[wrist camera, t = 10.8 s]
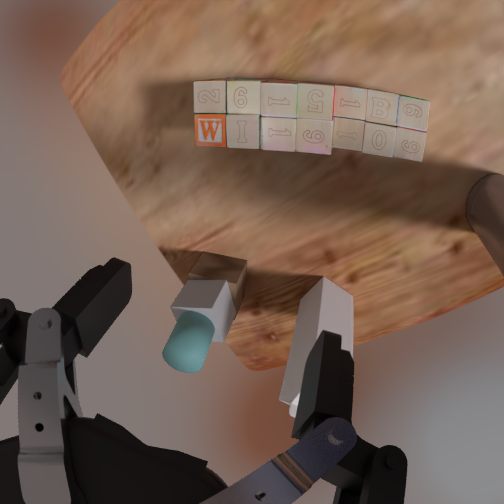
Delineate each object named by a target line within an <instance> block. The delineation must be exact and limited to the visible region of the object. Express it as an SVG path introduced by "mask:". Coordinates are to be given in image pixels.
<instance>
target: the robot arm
mask: <svg viewBox="0 0 504 504" xmlns="http://www.w3.org/2000/svg"><path fill="white" fill-rule="evenodd" d="M466 212H467V218H468V221H469V223H470V225H471V227H472V228H473V230H474V231H475V232H476V234H477V235H478V237H479V238H480V240H481V241H482V243H483V244H484V246H485V247H486V249H487V250H488V252H489V253H490V255H491V257H492V258H493V260H494V261H495V263H496V264H497V266H498V268H499V269H500V271H501V273H502V274H503V276H504V176H503V175H500V174H493V175H488V176H486V177H484V178H482V179H481V180H480V181H479V182H477V184H476V185H475V186H474V187H473V189H472V191H471V192H470V195H469V197H468V200H467V206H466ZM131 295H132V278H131V265H130V263H127V262H125V261H122V260H120V259H117V258H115V257H114V258H112V259H110V260H109V261H108V262H107V263H106V264H105V265H104V266H101V265H98V266H96V267H94V268H92V269H90V270H89V271H88V272H87V273H86V274H84V276H82V277H81V279H79V281H77V283H76V284H75V286H73V287H72V288H71V289H70V290H69V291H68V292H67V293H66V294H65V295H64V296H63V297H62V298H61V299H60V300H59V301H58V302H57V303H56V304H55V305H54V307H52V308H42V309H39V310H37V311H35V312H34V313H33V314H32V313H27V312H22V311H18V310H16V308H15V305H14V304H13V302H12V301H11V300H9V299H5V298H3V299H0V344H1V345H2V347H1V348H0V404H1V403H2V401H3V400H4V398H5V397H6V395H7V394H8V392H9V391H10V389H11V388H12V386H13V385H14V383H15V382H16V380H17V379H18V423H19V435H18V436H15V437H11V438H8V439H5V440H2V441H0V504H292V503H293V502H294V501H295V500H297V499H298V498H299V497H301V496H302V495H303V494H304V493H305V492H307V491H308V490H309V489H310V488H311V486H312V485H313V484H314V483H315V482H316V481H317V480H319V479H320V478H322V479H323V480H325V481H327V482H329V483H331V484H333V485H335V486H337V487H336V492H335V496H334V501H333V504H404V496H405V488H406V477H407V458H406V456H405V454H404V452H403V451H402V450H401V449H400V448H398V447H396V446H393V445H386V446H383V447H381V448H378V447H376V446H374V445H372V444H370V443H368V442H366V441H364V440H363V439H361V438H360V437H359V436H358V435H357V434H356V431H355V428H354V427H353V425H352V421H351V417H352V402H353V383H354V377H353V375H354V361H353V358H352V356H351V353H350V351H347V350H343V349H341V344H342V336H341V335H340V334H336V333H333V332H329V331H326V330H322V332H321V333H320V335H319V337H318V339H317V341H316V342H315V344H314V346H313V348H312V349H311V351H310V353H309V355H308V358H307V361H306V364H305V368H304V374H303V380H302V385H301V391H300V396H299V401H298V407H297V412H296V417H295V422H294V427H293V432H292V438H296V439H299V441H298V442H297V443H296V444H294V445H293V446H292V447H290V448H289V449H288V450H286V451H285V452H283V453H282V454H280V455H277V456H276V457H274V458H273V459H271V460H270V461H268V462H267V463H265V464H264V465H262V466H261V467H260V468H258V469H256V470H255V471H253V472H252V473H250V474H249V475H247V476H246V477H244V478H242V479H241V480H239V481H238V482H236V483H234V484H233V485H231V486H229V487H228V486H227V485H226V483H225V482H224V481H223V480H222V479H221V478H220V477H219V476H218V475H217V474H216V473H214V472H213V471H212V470H210V469H209V468H207V467H206V465H207V463H208V461H205V460H202V459H199V458H196V457H194V456H191V455H188V454H186V453H183V452H180V451H176V450H169V449H163V448H158V447H152V446H148V445H146V444H144V443H143V442H141V441H140V440H139V439H138V438H136V437H135V436H134V435H132V434H131V433H130V432H129V431H128V430H126V429H125V428H124V427H123V426H121V425H119V424H117V423H115V422H113V421H111V420H109V419H107V418H105V417H104V416H102V415H100V414H98V413H97V415H96V416H95V418H94V419H92V418H86V417H83V415H82V410H81V407H80V404H79V399H78V390H77V380H76V367H75V359H74V358H75V357H76V355H77V354H78V353H79V354H81V355H83V356H84V357H88V356H89V354H90V353H91V352H92V350H93V349H94V347H95V346H96V345H97V343H98V342H99V341H100V339H101V338H102V337H103V335H104V334H105V333H106V331H107V330H108V329H109V327H110V326H111V325H112V324H113V322H114V321H115V320H116V318H117V317H118V316H119V314H120V313H121V312H122V311H123V309H124V308H125V307H126V305H127V304H128V303H129V300H130V298H131Z"/></svg>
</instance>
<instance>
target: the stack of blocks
mask: <svg viewBox="0 0 504 504" xmlns="http://www.w3.org/2000/svg"><path fill="white" fill-rule="evenodd" d="M193 84H194V112H195V113H196V114H195V117H194V123H195V143H196V146H213V147H228V148H247V149H259V148H261V149H262V150H272V151H287V152H295V151H297V152H305V153H316V154H327V155H331V150H332V148H338V149H346V150H353V151H360V152H362V153H367V154H372V155H378V156H384V157H391V158H392V157H397V158H402V159H408V160H413V161H418V162H422V159H423V153H424V147H425V141H426V130H427V124H428V115H429V107H430V101H427V100H424V99H419V98H414V97H410V96H405V95H399V94H395V93H390V92H385V91H380V90H374V89H368V88H362V87H356V86H348V85H340V84H328V83H319V82H308V81H306V82H305V81H292V80H282V79H265V78H226V79H211V80H202V81H194V83H193Z"/></svg>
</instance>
